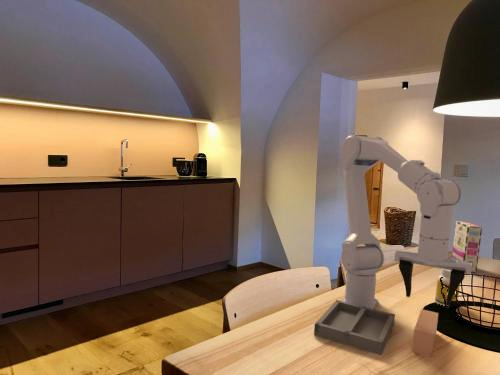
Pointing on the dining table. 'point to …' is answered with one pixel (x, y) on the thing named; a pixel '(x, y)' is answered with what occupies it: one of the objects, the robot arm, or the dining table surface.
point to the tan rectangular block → (425, 333)
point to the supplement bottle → (445, 281)
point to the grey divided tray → (356, 326)
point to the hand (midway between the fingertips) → (427, 299)
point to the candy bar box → (467, 243)
